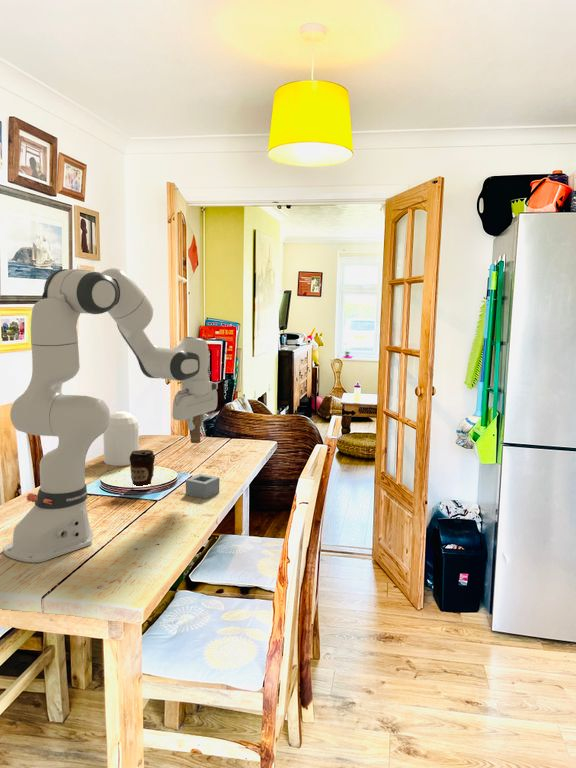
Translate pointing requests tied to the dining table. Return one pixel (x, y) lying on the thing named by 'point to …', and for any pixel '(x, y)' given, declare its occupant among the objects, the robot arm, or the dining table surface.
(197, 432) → the dowel
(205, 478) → the socket block
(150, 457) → the coffee cup
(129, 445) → the container
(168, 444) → the dining table surface
